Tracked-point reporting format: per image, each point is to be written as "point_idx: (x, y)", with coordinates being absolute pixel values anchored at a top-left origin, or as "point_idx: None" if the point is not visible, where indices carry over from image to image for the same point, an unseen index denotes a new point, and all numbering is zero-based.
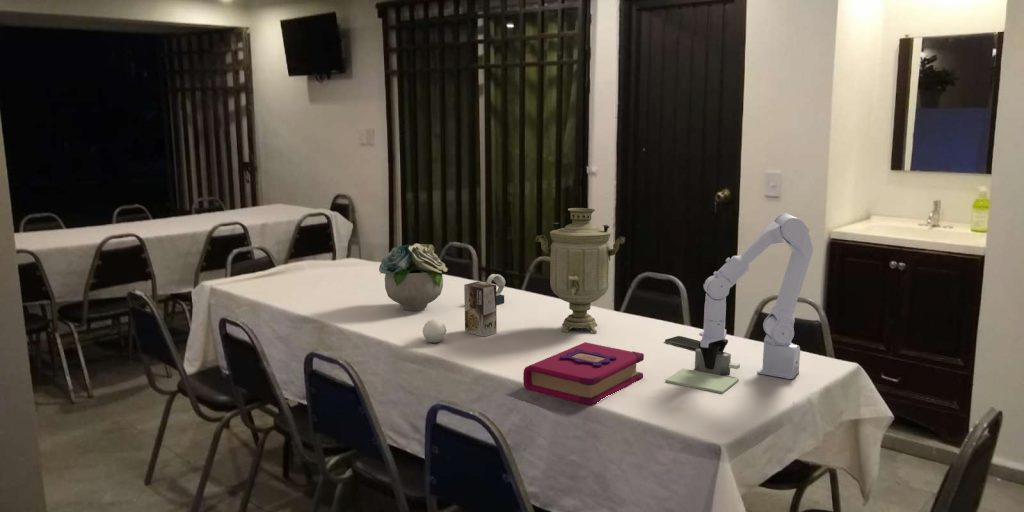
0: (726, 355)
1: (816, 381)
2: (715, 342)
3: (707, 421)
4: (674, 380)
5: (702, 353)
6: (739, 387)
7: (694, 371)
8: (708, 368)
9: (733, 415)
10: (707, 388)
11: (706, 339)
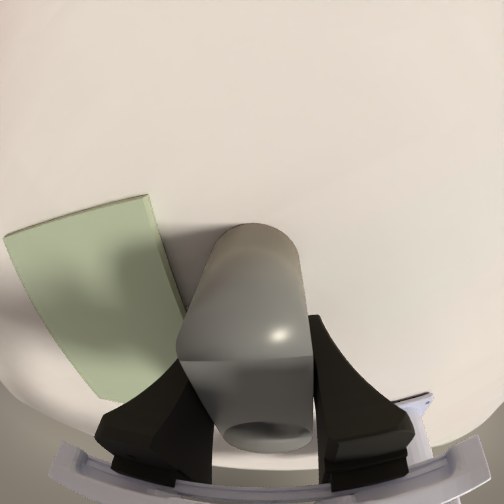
0: (256, 448)
1: None
2: (322, 459)
3: (18, 382)
4: (21, 266)
5: (147, 389)
6: None
7: (153, 275)
8: None
9: (60, 409)
10: (75, 368)
11: (89, 498)
